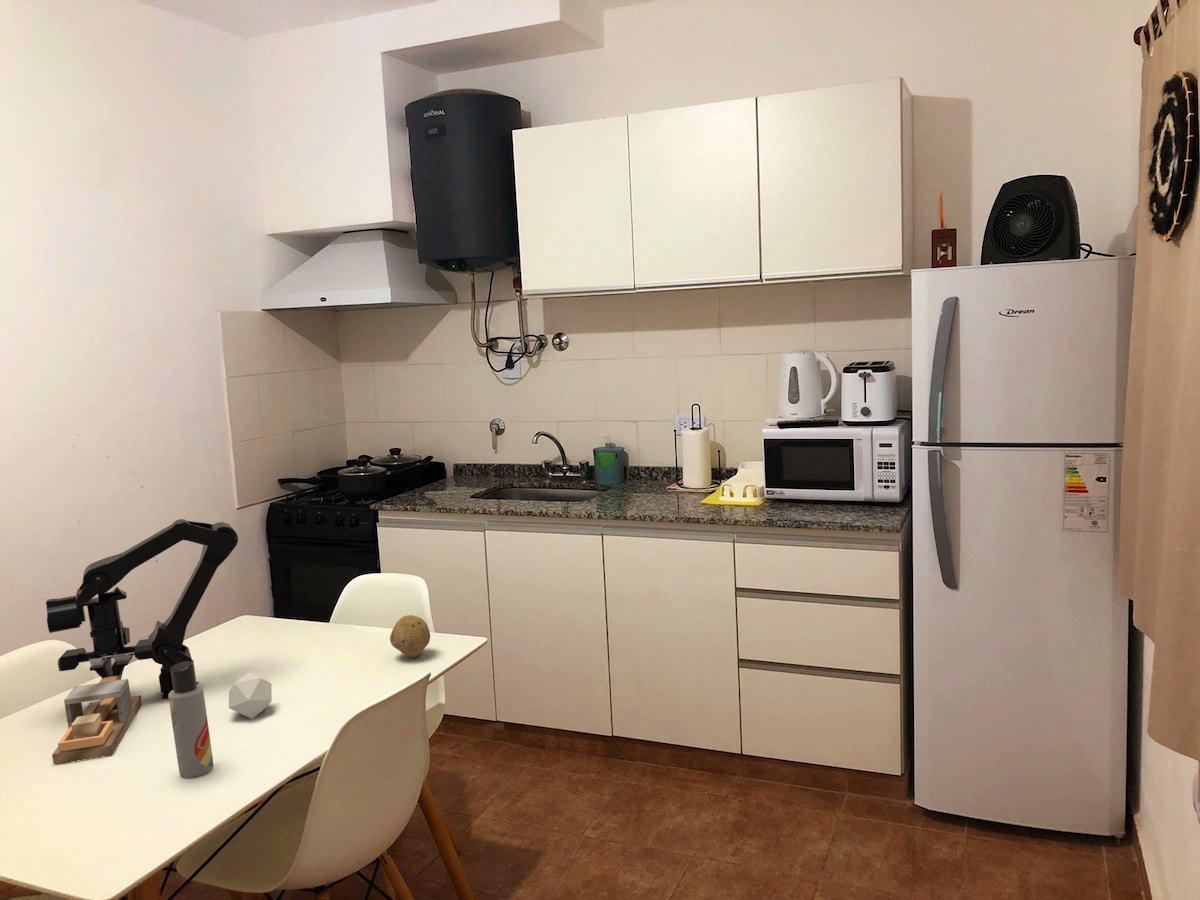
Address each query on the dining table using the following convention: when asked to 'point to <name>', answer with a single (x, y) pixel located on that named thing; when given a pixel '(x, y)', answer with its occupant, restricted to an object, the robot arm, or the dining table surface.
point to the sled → (107, 726)
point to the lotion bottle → (189, 722)
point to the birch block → (87, 726)
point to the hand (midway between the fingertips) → (116, 692)
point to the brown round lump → (410, 635)
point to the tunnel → (119, 714)
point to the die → (250, 695)
